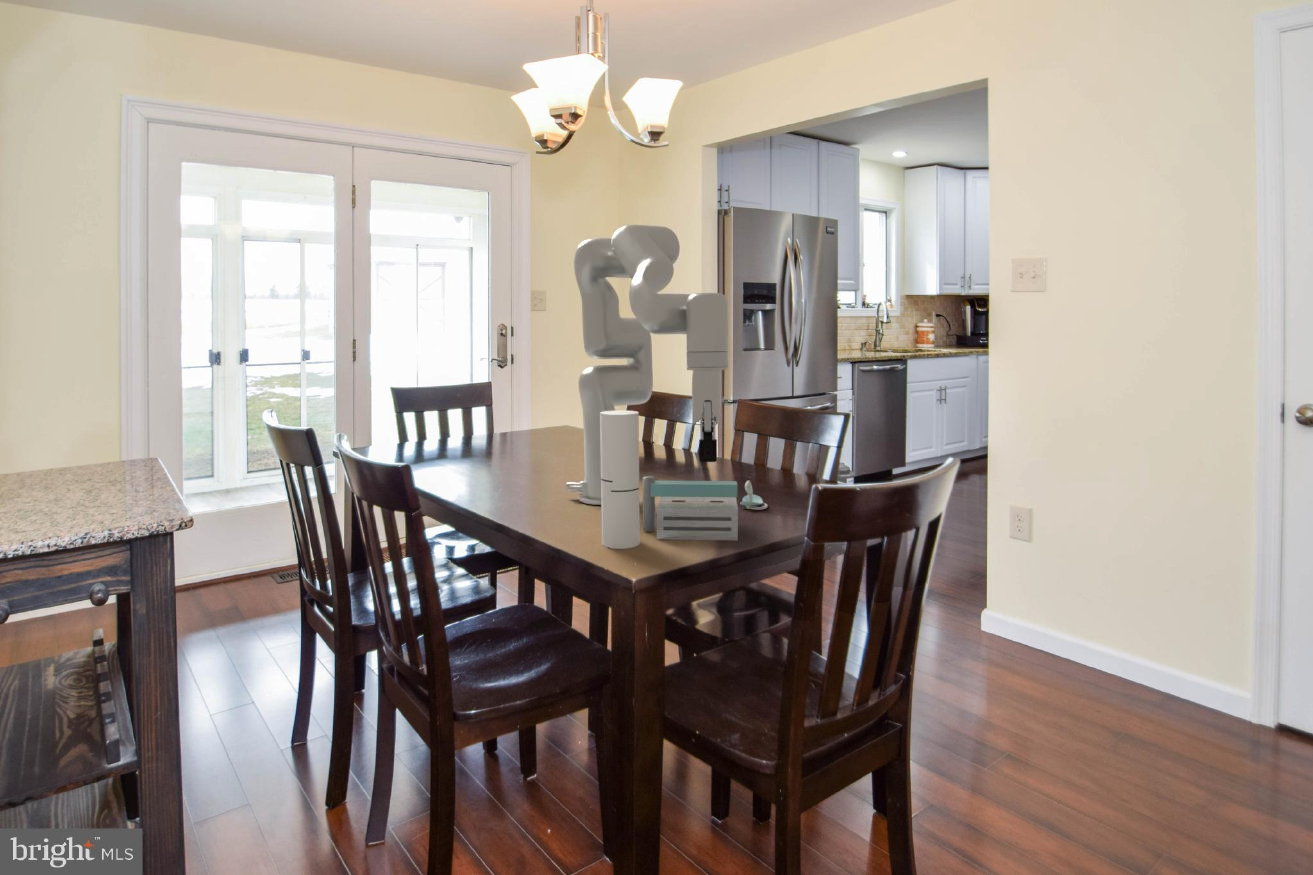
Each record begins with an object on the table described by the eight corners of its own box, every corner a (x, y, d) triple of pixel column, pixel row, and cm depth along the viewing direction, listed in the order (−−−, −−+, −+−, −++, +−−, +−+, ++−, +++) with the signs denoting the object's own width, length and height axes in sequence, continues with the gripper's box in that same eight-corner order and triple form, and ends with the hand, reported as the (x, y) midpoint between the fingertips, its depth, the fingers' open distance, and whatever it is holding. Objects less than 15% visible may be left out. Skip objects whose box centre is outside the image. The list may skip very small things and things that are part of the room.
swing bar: (642, 531, 159) (641, 479, 157) (643, 527, 162) (643, 475, 161) (736, 533, 158) (737, 479, 156) (736, 528, 161) (736, 476, 160)
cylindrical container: (617, 536, 157) (615, 409, 153) (647, 542, 153) (646, 411, 149) (594, 544, 151) (592, 413, 147) (624, 550, 147) (623, 415, 143)
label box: (657, 539, 154) (656, 507, 153) (660, 523, 166) (660, 493, 165) (737, 540, 153) (738, 508, 152) (735, 524, 165) (735, 494, 164)
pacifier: (769, 505, 183) (743, 503, 185) (770, 478, 182) (744, 477, 184) (765, 513, 176) (738, 510, 178) (767, 485, 175) (739, 483, 177)
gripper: (687, 360, 153) (688, 455, 156) (685, 363, 139) (686, 468, 141) (727, 360, 153) (727, 455, 155) (729, 363, 138) (729, 467, 140)
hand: (708, 461), depth 148 cm, fingers closed
